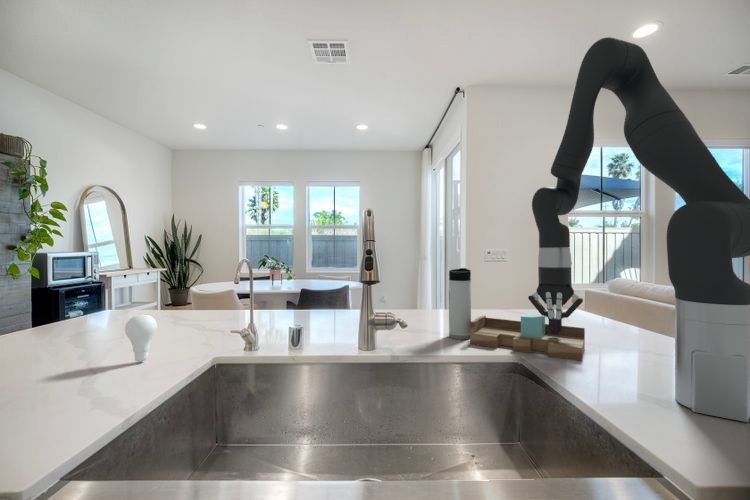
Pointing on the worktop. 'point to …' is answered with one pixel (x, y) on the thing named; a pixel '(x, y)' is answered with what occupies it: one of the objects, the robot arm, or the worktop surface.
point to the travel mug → (459, 303)
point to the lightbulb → (141, 334)
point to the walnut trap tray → (528, 338)
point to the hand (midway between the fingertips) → (555, 333)
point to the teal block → (533, 325)
